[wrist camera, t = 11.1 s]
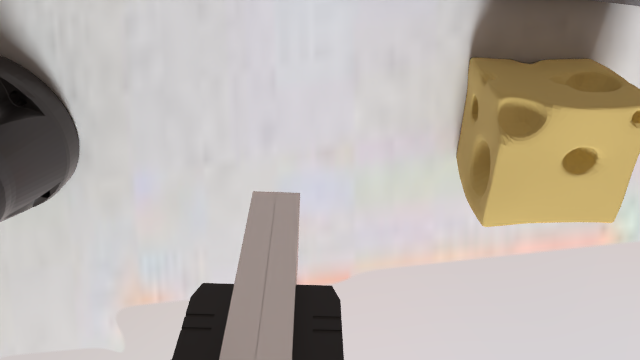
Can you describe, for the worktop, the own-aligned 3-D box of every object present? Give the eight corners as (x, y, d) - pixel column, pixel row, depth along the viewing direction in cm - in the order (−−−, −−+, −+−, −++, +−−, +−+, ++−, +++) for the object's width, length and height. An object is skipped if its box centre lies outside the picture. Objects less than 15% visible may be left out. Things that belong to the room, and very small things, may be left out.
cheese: (466, 54, 38) (504, 102, 30) (600, 53, 38) (676, 101, 29) (450, 163, 44) (477, 230, 35) (566, 163, 43) (622, 230, 35)
